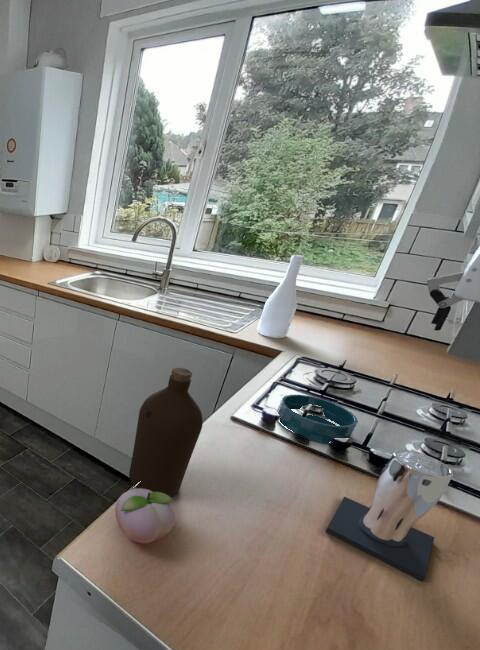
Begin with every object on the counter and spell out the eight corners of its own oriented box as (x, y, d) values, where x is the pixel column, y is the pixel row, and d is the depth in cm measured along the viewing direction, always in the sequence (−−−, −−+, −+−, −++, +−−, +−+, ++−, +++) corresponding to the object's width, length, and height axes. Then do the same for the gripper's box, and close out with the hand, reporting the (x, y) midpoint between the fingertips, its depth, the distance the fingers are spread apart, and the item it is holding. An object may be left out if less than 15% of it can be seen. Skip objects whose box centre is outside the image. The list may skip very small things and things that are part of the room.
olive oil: (170, 510, 75) (204, 392, 65) (116, 481, 82) (139, 370, 71) (190, 482, 82) (224, 371, 71) (139, 457, 89) (163, 353, 78)
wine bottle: (250, 330, 160) (275, 253, 147) (269, 328, 162) (295, 252, 149) (272, 339, 151) (301, 258, 139) (292, 337, 154) (321, 257, 141)
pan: (355, 430, 99) (363, 412, 97) (340, 453, 91) (349, 435, 89) (285, 405, 109) (292, 388, 107) (266, 424, 101) (273, 406, 99)
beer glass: (343, 515, 73) (380, 448, 67) (383, 517, 73) (424, 449, 67) (377, 548, 67) (421, 477, 61) (421, 550, 67) (470, 479, 60)
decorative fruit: (140, 511, 75) (150, 468, 71) (176, 546, 68) (190, 501, 64) (98, 526, 71) (107, 482, 67) (132, 565, 65) (144, 518, 60)
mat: (431, 541, 69) (434, 537, 69) (422, 581, 63) (425, 577, 62) (342, 500, 78) (344, 496, 78) (325, 531, 71) (327, 527, 71)
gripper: (631, 236, 58) (560, 346, 65) (453, 225, 70) (409, 318, 77) (643, 242, 54) (565, 359, 61) (451, 229, 66) (404, 327, 73)
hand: (478, 336), depth 69 cm, fingers open, 9 cm apart
